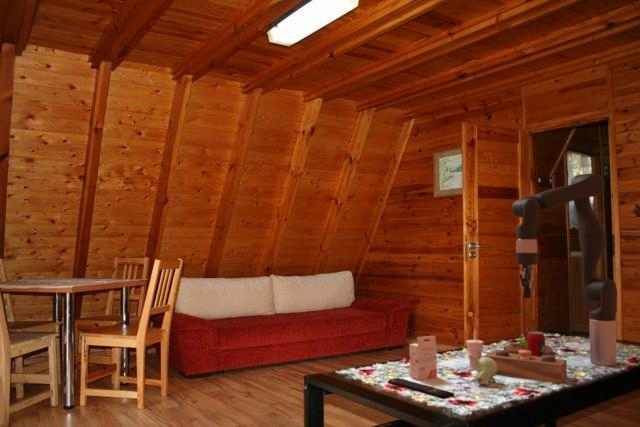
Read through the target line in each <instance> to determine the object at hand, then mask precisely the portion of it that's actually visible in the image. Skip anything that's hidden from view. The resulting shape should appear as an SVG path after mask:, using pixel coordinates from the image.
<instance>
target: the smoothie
mask: <svg viewBox="0 0 640 427" xmlns="http://www.w3.org/2000/svg"><path fill="white" fill-rule="evenodd" d="M476 331H477V330H476V329H473V339H468V340H466V342H465V343H466V348H467V353H468V355H469V354H470V353H472V354H473V356H476V357H477V359H478V360H479V359H480V358H482V353H483V352H482V351H483V345H484V341H482V340H480V339H477V338H476V336H477V335H476V333H477V332H476ZM468 361H469V366H470V368H474V367H476V362H475V361H474V362H473V361H472V360H471V358H470V357H469V356H468Z"/></svg>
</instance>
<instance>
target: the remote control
mask: <svg viewBox="0 0 640 427" xmlns="http://www.w3.org/2000/svg"><path fill="white" fill-rule="evenodd" d="M387 383H388V384H392V385H394V386H398V387H402V388H405V389H409V390H412V391H416V392H419V393H423V394H426V395H430V396H432V397H437V398H441V399H447V398H452V397H454V396H455V393H454V392H453V391H447V390H444V389H441V388H437V387H433V386H429V385H425V384H422V383H419V382H416V381H415V382H414V381H412V380H411V381H410V380H407V379H404V378H400V377H396V378H391V379H388V380H387Z"/></svg>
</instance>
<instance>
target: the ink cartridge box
mask: <svg viewBox="0 0 640 427" xmlns="http://www.w3.org/2000/svg"><path fill="white" fill-rule="evenodd" d="M416 340H417V343H409V378H412V379H415V380H418V381H419V380H427V379H432V378H437V377H438V373H437V372H438V364H437V361H438V360H437V341H436V336H435V335H427V336H417V338H416ZM425 340H426V341H425Z"/></svg>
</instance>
